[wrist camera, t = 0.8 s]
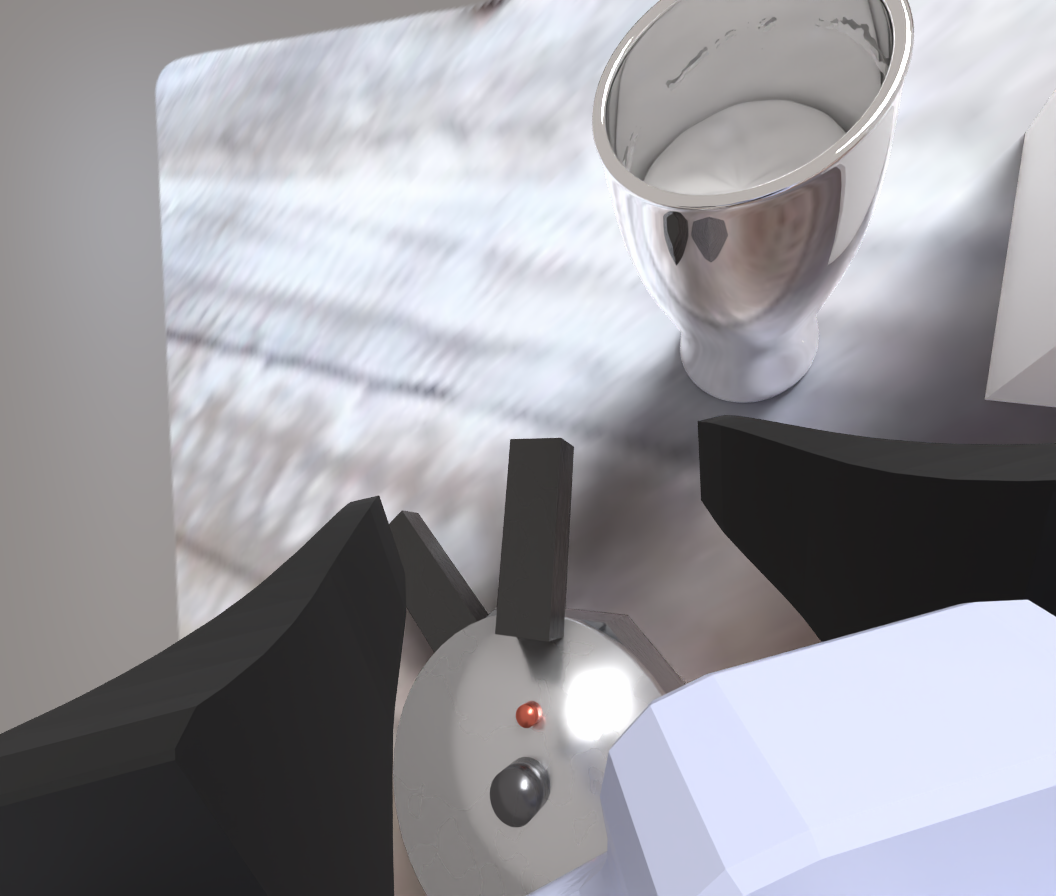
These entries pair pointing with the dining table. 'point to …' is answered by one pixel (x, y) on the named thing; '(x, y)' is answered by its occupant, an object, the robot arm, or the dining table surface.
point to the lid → (516, 713)
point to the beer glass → (750, 169)
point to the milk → (1029, 278)
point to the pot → (453, 606)
